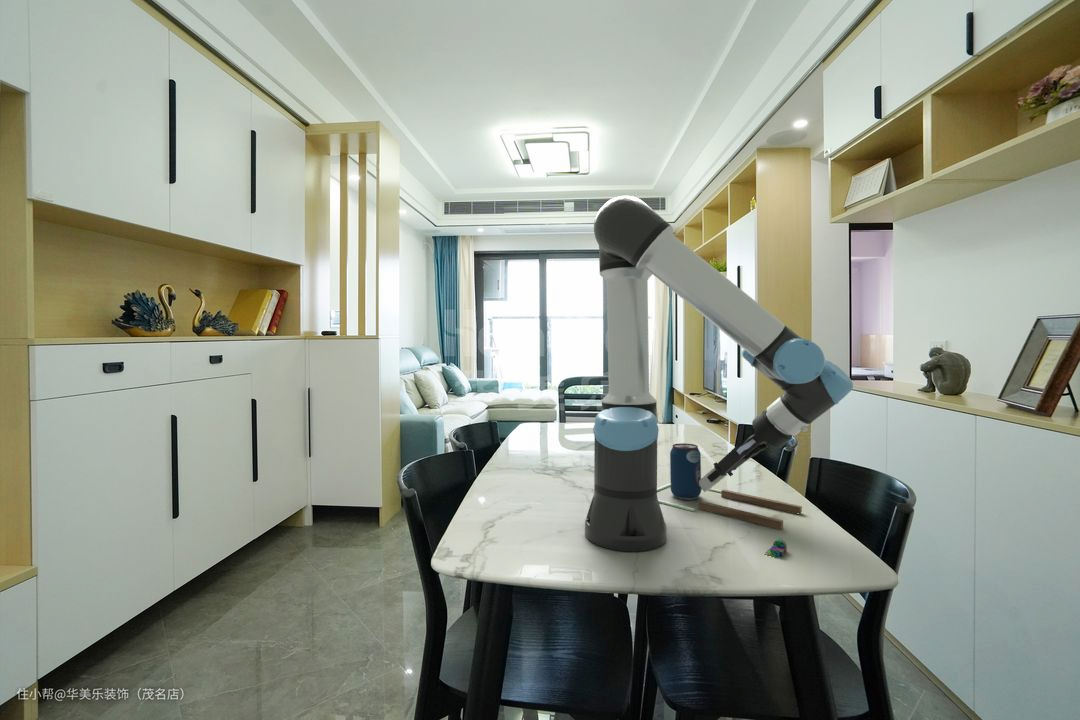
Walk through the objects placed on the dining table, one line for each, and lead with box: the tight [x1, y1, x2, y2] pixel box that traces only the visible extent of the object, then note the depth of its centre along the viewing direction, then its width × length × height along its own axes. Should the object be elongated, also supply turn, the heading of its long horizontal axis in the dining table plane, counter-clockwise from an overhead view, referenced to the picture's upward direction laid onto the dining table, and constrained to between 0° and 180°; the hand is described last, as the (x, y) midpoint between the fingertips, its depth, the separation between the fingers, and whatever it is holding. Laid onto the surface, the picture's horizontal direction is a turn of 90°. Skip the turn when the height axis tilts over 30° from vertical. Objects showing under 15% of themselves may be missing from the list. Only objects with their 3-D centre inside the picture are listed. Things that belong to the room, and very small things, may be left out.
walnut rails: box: [697, 488, 803, 530], centre depth 103 cm, size 13×17×2 cm
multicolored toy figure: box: [763, 538, 788, 559], centre depth 82 cm, size 4×3×2 cm, turn 140°
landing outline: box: [657, 482, 723, 512], centre depth 114 cm, size 18×14×1 cm
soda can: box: [669, 442, 702, 501], centre depth 113 cm, size 7×7×12 cm
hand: (702, 486), depth 111 cm, fingers closed
